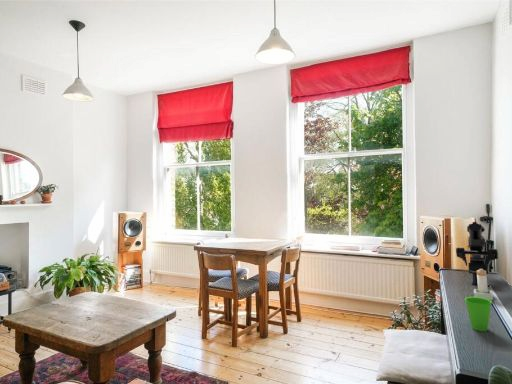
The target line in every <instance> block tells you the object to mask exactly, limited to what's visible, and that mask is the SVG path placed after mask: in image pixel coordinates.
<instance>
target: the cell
mask: <svg viewBox="0 0 512 384" xmlns="http://www.w3.org/2000/svg"><path fill="white" fill-rule="evenodd" d="M487 275H488V274H487ZM487 275H486V271H485V270H483V269H479V270H477V283H478V285H477V289H478V293H488V290H489V289H488V280H487V279H488V278H487V277H488V276H487Z"/></svg>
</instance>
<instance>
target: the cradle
mask: <svg viewBox="0 0 512 384" xmlns="http://www.w3.org/2000/svg"><path fill="white" fill-rule="evenodd" d="M493 296H494V295H493V290H491V289H488V293H478V288H473V297H480V298H485V299H489V300H491V301H492V302H493V301H494V299H493Z"/></svg>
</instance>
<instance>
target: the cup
mask: <svg viewBox="0 0 512 384" xmlns="http://www.w3.org/2000/svg"><path fill="white" fill-rule="evenodd" d="M464 302H465V304H466V308H467V313H468V317H469V320H470V321H469V322H470V325H471V328H472V329H473V330H475V331H478V330H479V331H480V332H486V331H488V329H489V324H490V323H489V322H490V314H491V310H492V309H491V306H492V304H493V301H491V300H489V299H485V298H480V297H474V296H468V297H465V298H464Z"/></svg>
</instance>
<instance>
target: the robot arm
mask: <svg viewBox="0 0 512 384" xmlns="http://www.w3.org/2000/svg"><path fill="white" fill-rule="evenodd" d="M466 227H467V228H466V229H467V233H469V235H468V237H467V238H468V247H469V250H468V249H467V250H466V249H465V247H456V248H455V252H456V257H457V258H459V259H461V260H462V261H463V262H464V265H465V266H466V267H468V273H469V274H471V279H472V280H471V285H473V286H478V283H477V270H479V269H483V270H485V271H486V275H489V269H488V268H489V267H490V265H491V263H492V262H493V261H495V260H498V258H499V255H498V249H496V248H488V251H484V248H485V247H486V238H485V237H484V236H483V235H482V234H483V233H484V232H485V229H486V228H485V227H484V226H483V225H482V224H481V223H478V222H477V221H473V222H472V223H469V224H468V225H467V226H466ZM466 255H472V256H471V257H470V259H469V262H468V261H467V256H466ZM482 256H486V257H487V259H486V263H485V260H484V259H485V258H484V257H482Z"/></svg>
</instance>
